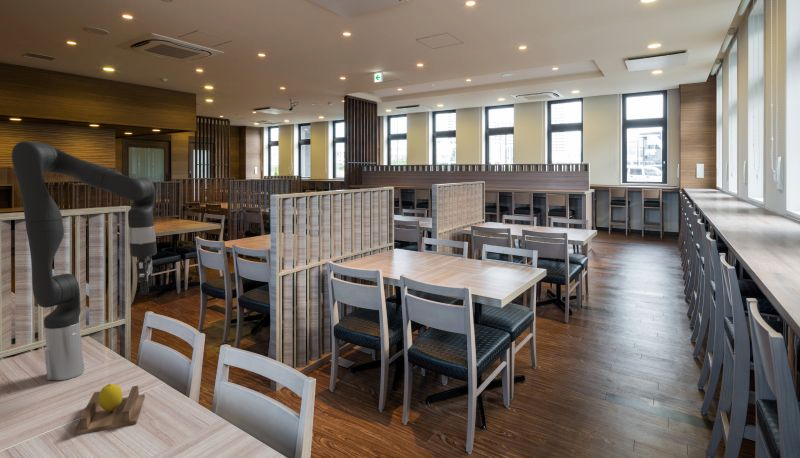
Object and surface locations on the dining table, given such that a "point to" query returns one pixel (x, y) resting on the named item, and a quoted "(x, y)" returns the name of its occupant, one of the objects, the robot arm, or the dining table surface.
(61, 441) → the dining table surface
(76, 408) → the dining table surface
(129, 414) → the cradle
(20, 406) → the dining table surface
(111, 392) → the lemon
